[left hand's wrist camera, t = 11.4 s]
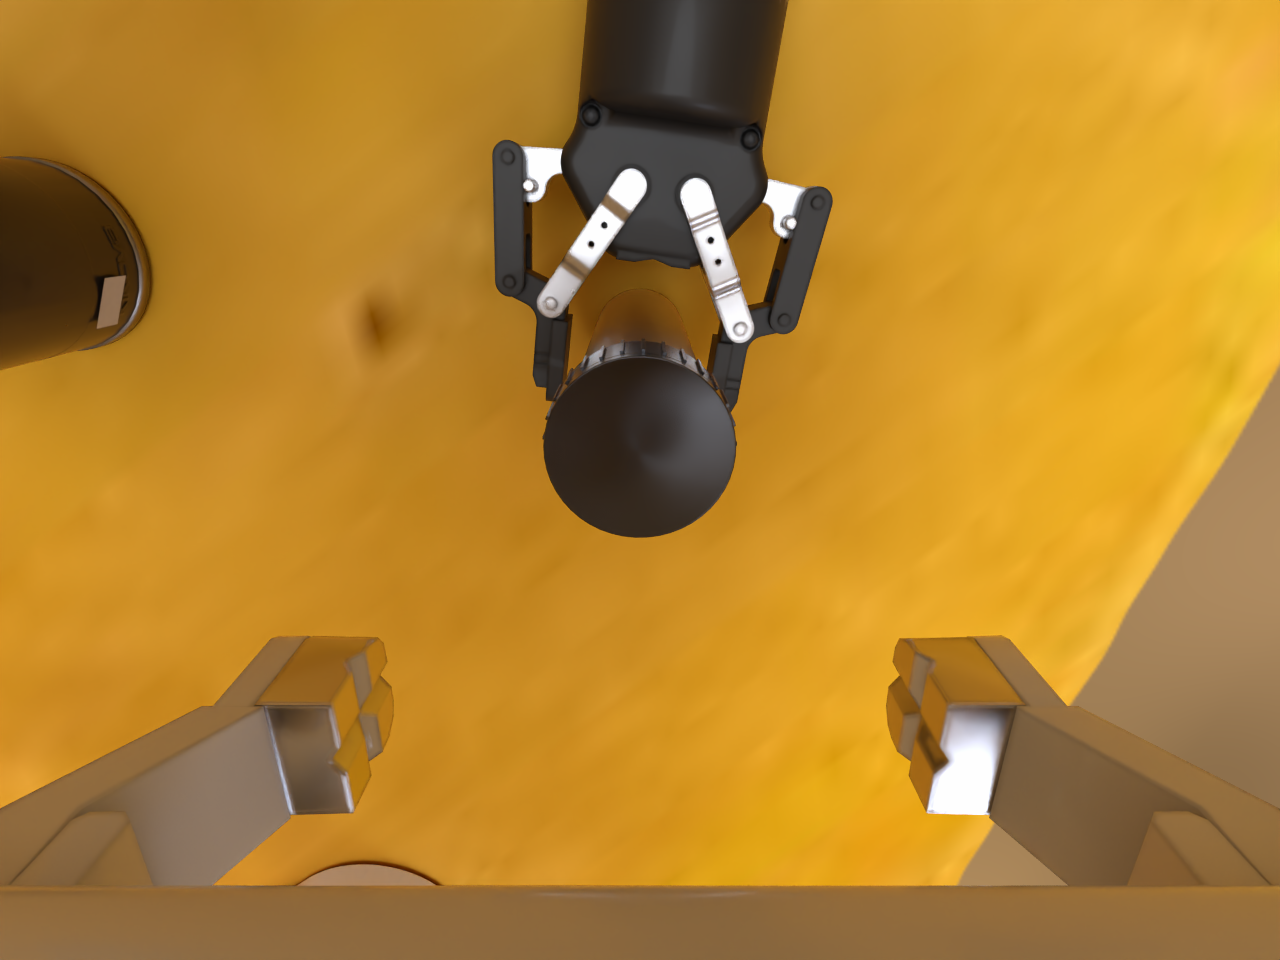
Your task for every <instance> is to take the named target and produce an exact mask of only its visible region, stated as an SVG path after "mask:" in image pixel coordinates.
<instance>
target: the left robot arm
mask: <svg viewBox="0 0 1280 960" xmlns="http://www.w3.org/2000/svg"><path fill="white" fill-rule="evenodd" d="M386 663H387V657H386V652H385V647H384V643H383V642H382V641H381V640H380V639H379V638H378V637H334V636H312V637H310V636H278V637H275V638H272V639H270V640H269V642H268V643H267V644H266V645H265V646H264V647H263V649H262V650H261V651H260V652H259V653H258V654H257V655H256V657H255V658H254V659H253V660H252V661H251V662H250V664H249V665H248V666H247V667H246V668H245V669H244V671H243V672H242V673H241V674H240V675H239V676H238V678H237V679H236V680H235V681H234V682H233V683H232V685H231V686H230V687H229V688H228V689H227V690H226V691H225V693H224V694H223V695H222V696H221V697H220V698H219V700H218V701H217V702H216V703H215V704H214V705H213V706H201V707H199V708H197V709H195V710H193V711H191V712H190V713H188V714H186V715H184V716H182V717H180V718H178V719H176V720H174V721H172V722H170V723H168V724H166V725H164V726H162V727H160V728H158V729H156V730H154V731H152V732H150V733H148V734H146V735H144V736H142V737H140V738H138V739H136V740H134V741H132V742H130V743H128V744H126V745H124V746H123V747H121V748H119V749H117V750H115V751H113V752H111V753H109V754H107V755H105V756H103V757H101V758H99V759H97V760H95V761H93V762H91V763H89V764H87V765H85V766H83V767H81V768H79V769H77V770H75V771H73V772H71V773H69V774H67V775H65V776H63V777H61V778H59V779H57V780H55V781H54V782H52V783H50V784H48V785H46V786H44V787H42V788H40V789H38V790H36V791H34V792H32V793H30V794H28V795H26V796H24V797H22V798H20V799H18V800H16V801H14V802H12V803H10V804H8V805H6V806H4V807H2V808H1V809H0V960H1280V809H1279V808H1277V807H1275V806H1273V805H1271V804H1269V803H1267V802H1265V801H1263V800H1261V799H1259V798H1257V797H1255V796H1254V795H1252V794H1250V793H1247V792H1246V791H1244V790H1242V789H1240V788H1238V787H1236V786H1234V785H1232V784H1230V783H1228V782H1226V781H1224V780H1222V779H1220V778H1218V777H1216V776H1214V775H1212V774H1210V773H1208V772H1206V771H1204V770H1202V769H1200V768H1198V767H1197V766H1194V765H1193V764H1191V763H1189V762H1187V761H1185V760H1183V759H1181V758H1179V757H1177V756H1175V755H1173V754H1171V753H1169V752H1167V751H1165V750H1163V749H1161V748H1159V747H1157V746H1155V745H1153V744H1151V743H1149V742H1147V741H1145V740H1144V739H1141V738H1139V737H1138V736H1136V735H1134V734H1132V733H1130V732H1128V731H1126V730H1124V729H1122V728H1120V727H1118V726H1116V725H1114V724H1112V723H1110V722H1108V721H1106V720H1104V719H1102V718H1100V717H1098V716H1096V715H1094V714H1092V713H1090V712H1088V711H1087V710H1084V709H1083V708H1081V707H1079V706H1067V705H1066V704H1065V703H1064V702H1063V701H1062V700H1061V698H1060V697H1059V696H1058V695H1057V694H1056V693H1055V692H1054V690H1053V689H1052V688H1051V687H1050V686H1049V685H1048V683H1047V682H1046V681H1045V680H1044V679H1043V678H1042V676H1041V675H1040V674H1039V673H1038V672H1037V671H1036V669H1035V668H1034V667H1033V666H1032V665H1031V664H1030V663H1029V661H1028V660H1027V659H1026V658H1025V657H1024V656H1023V654H1022V653H1021V652H1020V651H1019V650H1018V649H1017V647H1016V646H1015V645H1014V644H1013V643H1012V642H1011V640H1010V639H1008V638H1006V637H1004V636H1001V635H1000V636H970V637H951V638H899V640H898V642H897V645H896V647H895V651H894V657H893V663H894V665H895V667H896V669H897V671H898V673H899V675H900V676H899V677H898V678H897V679H896V680H895V681H894V682H893V683H892V684H891V685H890V686H889V687H888V695H887V703H886V709H887V722H888V727H889V731H890V735H891V738H892V741H893V743H894V745H895V747H896V749H897V752H899V753H900V754H901V755H903V756H904V757H906V758H907V759H908V760H910V761H911V765H910V771H909V777H910V779H911V781H912V783H913V785H914V788H915V790H916V792H917V794H918V796H919V798H920V800H921V802H922V804H923V806H924V808H925V810H926V812H927V813H941V814H977V815H990V817H989V818H990V819H991V820H992V821H994V822H995V823H996V824H997V825H998V826H999V827H1001V828H1002V829H1003V830H1004V831H1005V832H1006V833H1008V834H1009V835H1010V836H1011V837H1012V838H1014V839H1015V840H1016V841H1017V842H1018V843H1019V844H1020V845H1022V846H1023V847H1024V848H1025V849H1026V850H1028V851H1029V852H1030V853H1031V854H1032V855H1033V856H1035V857H1036V858H1037V859H1038V860H1039V861H1040V862H1042V863H1043V864H1044V865H1045V866H1046V867H1047V868H1049V869H1050V870H1051V871H1052V872H1053V873H1054V874H1056V875H1057V876H1058V877H1059V878H1060V879H1061V880H1063V881H1064V882H1065V883H1066V884H1067V885H1068V886H604V885H455V886H437V885H435V884H434V883H432V882H430V881H428V880H426V879H424V878H422V877H420V876H418V875H416V874H413V873H410V872H408V871H404V870H401V869H397V868H393V867H388V866H381V865H370V864H356V865H345V866H339V867H335V868H331V869H327V870H324V871H322V872H319V873H317V874H315V875H313V876H311V877H309V878H308V879H306V880H305V881H303V882H302V883H300V884H299V885H297V886H215V885H213V884H214V883H215V882H216V881H218V880H219V879H220V878H221V877H222V876H224V875H225V874H226V873H227V872H228V871H229V870H231V869H232V868H233V867H234V866H235V865H236V864H238V863H239V862H240V861H241V860H242V859H243V858H245V857H246V856H247V855H248V854H249V853H250V852H252V851H253V850H254V849H255V848H256V847H257V846H259V845H260V844H261V843H262V842H263V841H264V840H266V839H267V838H268V837H269V836H270V835H271V834H273V833H274V832H275V831H276V830H277V829H279V828H280V827H281V826H282V825H283V824H284V823H286V822H287V821H288V820H289V819H290V815H302V814H337V813H354V811H355V808H356V806H357V804H358V802H359V800H360V798H361V796H362V794H363V792H364V790H365V788H366V785H367V783H368V781H369V779H370V777H371V771H370V765H369V761H370V760H372V759H373V758H374V757H376V756H377V755H379V754H380V753H381V752H383V749H384V747H385V745H386V743H387V740H388V738H389V735H390V730H391V726H392V721H393V694H392V687H391V686H390V685H389V684H388V683H387V682H386V681H385V680H384V679H383V678H382V677H381V676H380V675H381V673H382V671H383V669H384V667H385V665H386Z"/></svg>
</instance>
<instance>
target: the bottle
mask: <svg viewBox="0 0 1280 960" xmlns="http://www.w3.org/2000/svg"><path fill="white" fill-rule="evenodd" d="M641 339H645V341H650V342H657V343H661V342H662V341H663V342H665V345H669V346H671V347H674V348H676V349H679V350H680V349H681V348H682V349H684V352H685V353H686V354H688V355H689V356H691V357H692V358H693V359H695V356H694V353H693V350H692V348H691V345H690V342H689V339H688V337H687V334H686V331H685V328H684V325H683V323H682V320H681V317H680V315H679V313H678V311H677V309H676V308H675V306H674V305H673V304H672V303H671V302H670V301H669V300H668V299H667V298H666V297H664V296H663V295H661V294H659V293H657V292H655V291H651V290H647V289H632V290H628V291H625V292H622V293H620V294H618V295H617V296H615V297H614V298H613V299H611V300H610V301H609V302H608V303H607V304H606V306H605V307H604V308H603V310H602V312H601V314H600V316H599V319H598V321H597V324H596V327H595V330H594V332H593V335H592V338H591V341H590V344H589V346H588V349H587V352H586V355H588V357H589V356H590V355H592V354H594V353H595V352H597V351H599V350H601V347H602V346H604V345H605V347H608V346H611V345H614V344H618V343H621V340H625V342H629V341H641ZM586 355H585V356H586ZM695 360H696V359H695Z"/></svg>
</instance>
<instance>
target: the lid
mask: <svg viewBox="0 0 1280 960" xmlns="http://www.w3.org/2000/svg"><path fill="white" fill-rule="evenodd" d="M554 401H555V402H554ZM728 407H730V406H729V404H728V401H727V399H726V397H725V395H724V392H723V390H722V389H721V390H719V386H718V384H717V382H716V379H715V377H714V375H713V374H712V373H711V374H709V373H708V371H707V370H706V369H705V368H704V367H703V366H702V364H701V361H700V360H699V359H697V360H695V359H693V358H692V357H691V356H689V355H688V354H686V353H685V352H684V349H682V348H681V349H680V350H679V349H676V348H674V347H671V346H669V345H665V342H663V341H662V342H661V343H657V342H650V341H645V339H641V341H629V342H625V340H621V343H618V344H614V345H611V346H608V347H605V345H604V346H602V347H601V350H599V351H597V352H595V353H594V354H592V355H590V356H589V357H588V355H586V356H585V357H584V359H583V361H582V362H581V363H580V364H579V365H578V366H577V367H576V368H575V369H573V368H571V369H570V371H569V373H568V376H567V378H566V380H565V382H564V384H563V385H562V384H560V385H559V387H558V390H557V392H556V394H555V396H554V399H553V402H552V404H551V407H550V409H549V411H548V413H547V416H546V420H548V421H547V424H546V428H545V432H544V435H543V439H544V445H543V448H544V460H545V464H546V469H547V472H548V475H549V478H550V481H551V483H552V485H553V487H554V489H555V491H556V492H557V494H558V495H559V497H560V498H561V499H562V501H563V502H564V503H565V504H566V505H567V506H568V508H569V509H570V510H571V511H572V512H574V513H575V514H576V515H577V516H578V517H579V518H581V519H582V520H584V521H585V522H587V523H588V524H590V525H592V526H594V527H596V528H598V529H600V530H603V531H606V532H608V533H611V534H615V535H620V536H625V537H635V538H639V537H654V536H660V535H664V534H668V533H671V532H674V531H677V530H679V529H682V528H684V527H686V526H687V525H689V524H691V523H693V522H694V521H696V520H697V519H699V518H700V517H701V516H703V515H704V514H705V513H706V512H707V511H708V510H709V509H710V508H711V507H712V506H713V505H714V504H715V503H716V501H717V500H718V499H719V498H720V496H721V494H722V493H723V491H724V490H725V488H726V486H727V484H728V482H729V480H730V477H731V474H732V471H733V468H734V462H735V457H736V446H737V442H736V437H735V430H734V426H736V425H735V422H734V419H733V417H732V415H731V412H730V410H729V408H728Z"/></svg>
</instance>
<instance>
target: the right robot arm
mask: <svg viewBox="0 0 1280 960" xmlns="http://www.w3.org/2000/svg"><path fill="white" fill-rule="evenodd" d="M787 4H788V0H588V2H587V14H586V25H585V36H584V48H583V59H582V70H581V82H580V93H579V104H578V115H577V120H576V124H575V127H574V130H573V132H572V134H571V136H570V138H569V139H568V141H567V142H566V144H565V146H564V148H563V149H557V148H540V147H523V146H521V145H519V144H517V143H515V142H513V141H510V140H503V141H501V142H499V143H498V144H497V145H496V146H495V148H494V150H493V201H494V246H495V283H496V287H497V289H498V290H499V291H500V292H501V293H502V294H503V295H505V296H509V297H514V298H516V299H518V300H520V301H522V302H523V303H525V304H527V305H529V306H530V307H531V308H532V309H533V311H534V312H535V315H536V319H537V326H536V339H535V353H534V365H533V377H534V381H535V384H536V386H537V387H545V388H546V401H553V399H554V396H555V394H556V392H557V390H558V387H559V385H560V384H562V385H563V384H564V382H565V380H566V378H567V369H568V358H569V348H570V337H571V327H572V316H573V314H568V309H569V302H570V301H571V300H572V298H573V297H574V295H575V294H576V292H577V291H578V290H579V288H580V287H581V285H582V284H583V282H584V281H585V279H586V278H587V277H588V275H589V274H590V272H591V271H592V269H593V268H594V267H595V265H596V264H597V262H598V261H599V259H600V258H601V256H602V255H603V254H604V252H605V251H607V252H608V253H609V254H611V255H613V256H615V257H616V259H619V260H626V261H634V262H635V261H642V260H650V259H655V260H657V261H660V262H662V263H664V264H666V265H669V266H671V267H677V268H684V269H690V267H694V266H698V265H699V266H700V269H701V272H702V274H703V277H704V280H705V283H706V285H707V288H708V290H709V293H710V296H711V298H712V301H713V304H714V307H715V310H716V313H717V315H718V318H719V321H720V325H719V331H718V335H717V334H713V336H712V342H711V348H710V354H709V360H708V365H707V371H708V373H709V374H711V373H712V374H713V375H714V377H715V379H716V382H717V384H718V386H719V390H721V389H722V390H723V392H724V395H725V397H726V399H727V401H728V404H729V406H730V407H728V408H729V410H730V412H731V411H732V409H733V408H734V406H735V405H736V403H737V400H738V394H739V389H740V384H741V379H742V373H743V368H744V363H745V357H746V352H747V349H748V346H749V345H750V343H751V342H752V341H753V340H754V339H756V338H758V337H761V336H765V335H769V334H774V333H779V334H787V333H790V332H791V331H793V330H794V329H795V327H796V326H797V323H798V320H799V316H800V313H801V309H802V306H803V303H804V299H805V296H806V292H807V289H808V286H809V282H810V279H811V275H812V272H813V269H814V265H815V262H816V258H817V255H818V252H819V248H820V245H821V241H822V238H823V234H824V231H825V228H826V224H827V221H828V217H829V214H830V211H831V207H832V202H833V200H832V195H831V193H830V192H829V191H828V190H827V189H826V188H824V187H818V186H810V187H800V186H796V185H792V184H788V183H784V182H779V181H775V180H771V179H768V176H767V172H766V169H765V166H764V162H763V153H762V147H763V139H764V133H765V127H766V122H767V116H768V111H769V105H770V99H771V94H772V88H773V83H774V77H775V72H776V66H777V60H778V55H779V49H780V44H781V38H782V32H783V27H784V21H785V16H786V10H787ZM560 174H563V177H564V179H565V181H566V182H567V184H568V186H569V188H570V190H571V192H572V194H573V196H574V197H575V199H576V201H577V203H578V205H579V207H580V209H581V211H582V212H583V214H584V216H585V218H586V220H587V224H586V225H585V227H584V228H583V230H582V231H581V233H580V234H579V236H578V237H577V239H576V240H575V242H574V243H573V245H572V246H571V247H570V249H569V250H568V252H567V253H566V255H565V257H564V258H563V260H562V262H561V263H560V265H559V266H558V268H557V269H556V271H555V272H554V274H553V275H552V277H551V278H550V279H548V278H547V277H545V276H543V275H541V274H539V273H537V272H535V271H533V270H532V202H539V201H541V200H543V199H544V198H545V197H546V195H547V193H548V188H549V184H550V182H551V180H552V179H553V178H554V177H555V176H557V175H560ZM761 203H762V204H764V205H765V206H766V207H767V208H768V210H769V212H770V228H771V231H772V232H773V233H774V234H775V235H776V236H779V237H781V239H780V242H779V246H778V250H777V253H776V257H775V261H774V264H773V268H772V272H771V275H770V279H769V283H768V286H767V290H766V294H765V297H764V301H763V302H761V303H757V304H752V305H748V306H747V303H746V300H745V297H744V294H743V291H742V288H741V282H740V278H739V275H738V272H737V269H736V266H735V263H734V260H733V257H732V254H731V251H730V248H729V245H728V242H727V240H728V239H729V238H730V237H731V236H732V234H733V233H734V232H735V231H736V230H737V229H738V228H739V227H740V226H741V225H742V224H743V223H744V222H745V221H746V220H747V219H748V217H749V216H750V215H751V214H752V213H753V212H754V211H755V210H756V209H757V208H758V207H759V206H760V205H761ZM149 292H150V269H149V263H148V259H147V255H146V251H145V248H144V246H143V243H142V240H141V238H140V236H139V234H138V232H137V230H136V228H135V226H134V225H133V223H132V221H131V220H130V218H129V217H128V215H127V214H126V213H125V211H124V210H123V209H122V207H121V206H120V205H119V204H118V203H117V202H116V201H115V199H114V198H113V197H112V196H111V195H110V194H108V193H107V192H106V191H105V190H104V189H103V188H102V187H101V186H99V185H98V184H97V183H96V182H94V181H93V180H91V179H90V178H88V177H87V176H85V175H83V174H82V173H80V172H78V171H76V170H74V169H72V168H70V167H68V166H65V165H63V164H60V163H57V162H54V161H50V160H46V159H40V158H30V157H2V158H0V370H3V369H7V368H11V367H15V366H19V365H22V364H26V363H30V362H34V361H38V360H42V359H47V358H50V357H54V356H58V355H62V354H66V353H69V352H73V351H81V350H88V349H93V348H97V347H101V346H104V345H107V344H110V343H113V342H115V341H117V340H119V339H121V338H122V337H124V336H125V335H126V334H128V333H129V332H130V331H131V330H132V329H133V328H134V327H135V326H136V324H137V323H138V322H139V320H140V319H141V317H142V315H143V313H144V311H145V308H146V306H147V302H148V298H149ZM554 402H555V401H554Z"/></svg>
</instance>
